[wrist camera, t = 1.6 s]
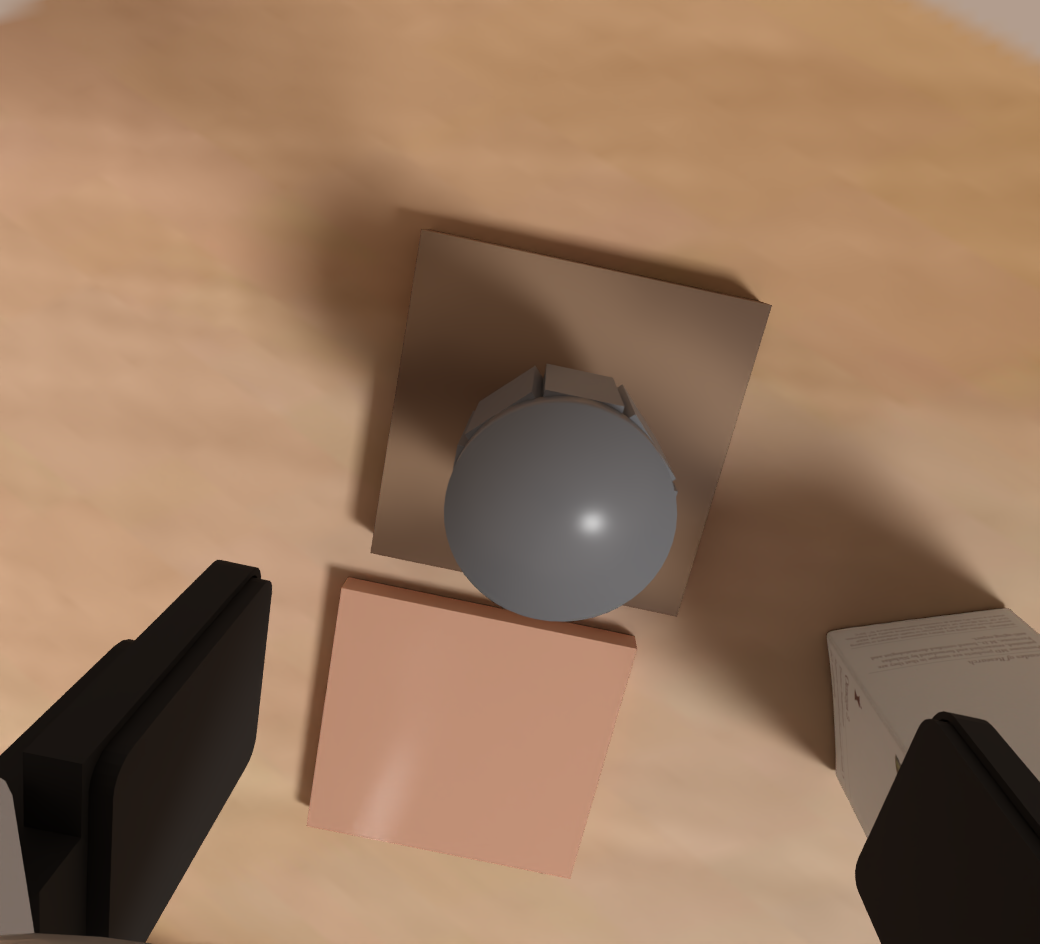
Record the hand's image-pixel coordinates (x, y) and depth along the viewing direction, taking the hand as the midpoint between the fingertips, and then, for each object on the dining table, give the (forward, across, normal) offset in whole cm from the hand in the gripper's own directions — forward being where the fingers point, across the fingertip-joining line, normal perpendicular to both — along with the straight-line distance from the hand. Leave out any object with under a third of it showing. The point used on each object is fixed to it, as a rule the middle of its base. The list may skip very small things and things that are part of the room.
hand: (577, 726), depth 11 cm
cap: (+14, 0, +1) cm, 14 cm away
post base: (+19, 0, +1) cm, 19 cm away
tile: (+18, +1, +15) cm, 24 cm away
